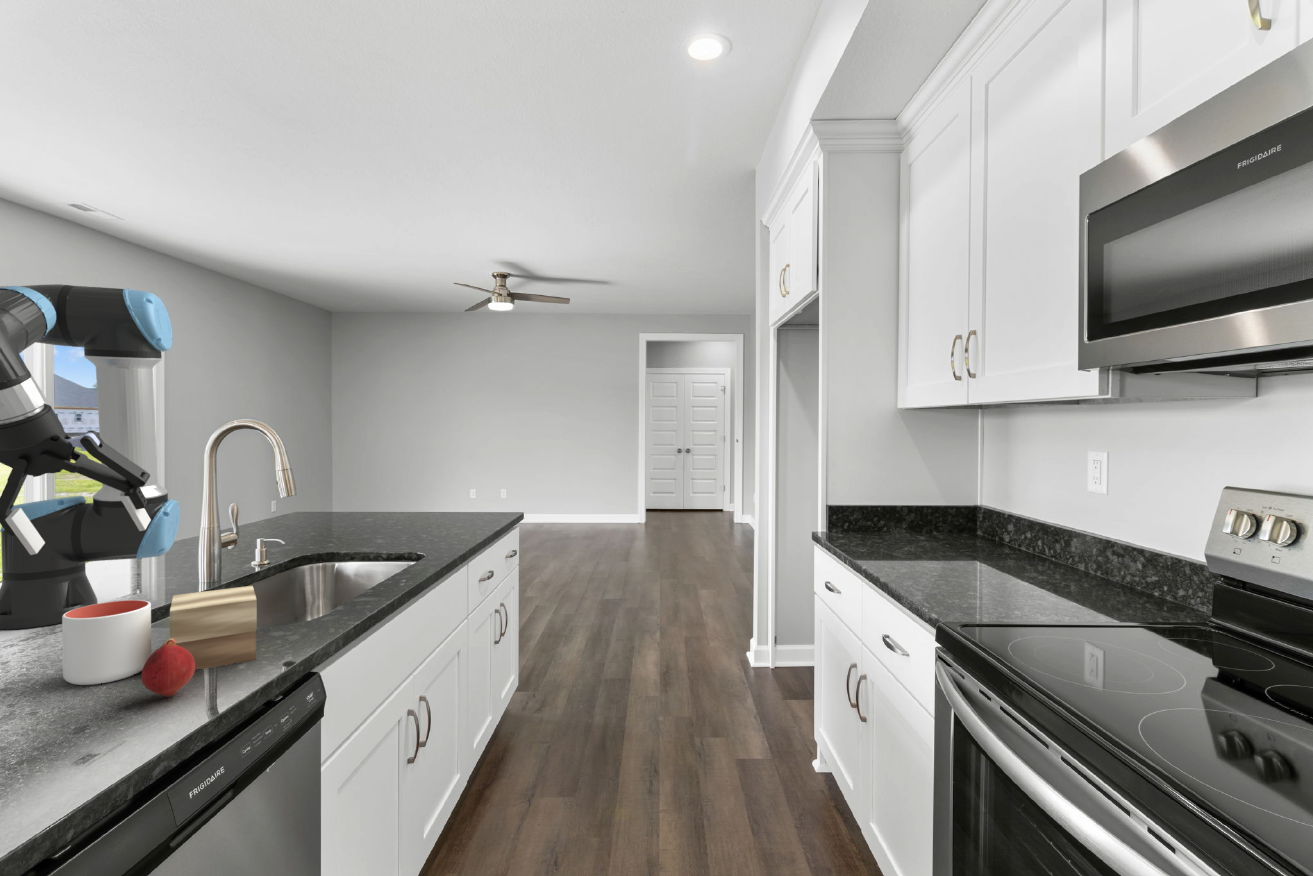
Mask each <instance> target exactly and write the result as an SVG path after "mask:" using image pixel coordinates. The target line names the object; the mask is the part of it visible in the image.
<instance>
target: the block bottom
mask: <svg viewBox="0 0 1313 876" xmlns="http://www.w3.org/2000/svg"><path fill="white" fill-rule="evenodd" d="M256 637H257V632H256V631H251V632H245V633H239V634H232V635H226V636H220V637H213V638H207V639H201V640H194V641H188V642H182V643H176V645H178V646H180V647H183V648H185V649H186V650H188V651H189V652H190V653H191V654H192V656H193V658H194V661H195V670H196V669H202V670H206V669H205V668H208V669H211V668H210V667H213V668H218V667H217V666H219V667H223V666H222V665H225V666H229V665H228V664H230V665H234V664H233V663H236V664H241V663H245V661H247V662H253V661H257V638H256ZM252 660H253V661H252Z"/></svg>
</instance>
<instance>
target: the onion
mask: <svg viewBox="0 0 1313 876" xmlns="http://www.w3.org/2000/svg"><path fill="white" fill-rule="evenodd" d="M175 642H176V640H175V639H174V638H173V639H170V638H169V639H167V640H166V641H165V642H164V643H163V644H162V645H161V646H160V647H159V648H157V649H156V650H154V651H153V652H152V653H151V656H150V657H149V658H148V659H147V661H146V663H145V665H144V667H143V670H142V671H141V676H140V677H141V682H142V685H143V686H144V688H146V689H147V690H149V692H150V691H151V692H152V693H154V694H157V695H160V696H163V697H165V698H170V697H173V696H175V695H176V694H177V693H178V692H179V691H181V689H182V688H183V687H185V686H186V685H187V684H188V683H189V681H190V680H192V678H193V676H194V674H195V672H196V671H195V661H194V658H193V656H192V654H191V653H190V652H189V651H188V650H186V649H185V648H183V647H180V646H178V645H176V643H175Z"/></svg>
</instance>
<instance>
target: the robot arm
mask: <svg viewBox="0 0 1313 876" xmlns="http://www.w3.org/2000/svg"><path fill="white" fill-rule="evenodd" d="M173 338H174V335H173V329H172V323H171V319H170V316H169V313H168V310H167V309H166V306H165V304H164V302H163V301H162V299H161V298H160V297H159V296H157V295H156V294H154V293H152V292H149V291H144V290H138V289H130V288H116V287H113V288H112V287H111V288H110V287H99V286H98V287H97V286H83V285H70V284H58V283H57V284H35V285H32V284H31V285H10V286H9V285H1V286H0V463H1V464H2V465H4V466H7V467H9V468H11V471H10V473H9V475H8V478H7V480H6V481H7V482H6V483H5V486H4V488H3V490H2V492H1V495H0V526H1V528H0V534H1V536H0V537H1V538H0V541H1V570H2V571H1V573H2V575H1V579H2V581H1V586H0V630H17V629H29V628H39V627H44V626H45V627H46V626H51V625H58V624H62V616H63V615H64V614H65V613H67V612H69V611H71V610H74V609H77V608H81V607H84V606H89V605H94V604H98V597H97V595H96V593H95V591H94V589H93V587H92V585H91V582H90V580H89V578H88V576H87V573H86V571H87V570H86V563H87V562H100V561H101V562H102V561H103V562H104V561H114V560H115V561H116V560H117V561H119V560H135V559H136V560H142V559H147V558H156V557H158V558H159V557H161V556H164V555H165V554H166V553H167V552H169V551H170V550H171V548H172V546H173V544H174V542H175V540H176V537H177V534H178V530H179V525H180V519H181V518H180V517H181V510H180V509H181V508H180V503H179V502H178V500H175V499H169V496H168V495H169V493H168V490H167V489H166V488H165V487H164V486H162V485H160V483H159V482H158V481H159V480H158V462H157V459H158V457H157V439H156V419H155V418H156V417H155V416H156V415H155V414H156V413H155V394H154V372H153V371H154V370H153V369H154V367H155V366H156V365H157V364H159V363H160V362H161V361H162V359H163V358H162V357H163V356H162V353H163V352H166V351H170V350H171V348H172V346H173V341H172V340H173ZM35 343H38V344H45V345H52V346H61V347H62V346H63V347H73V348H83V349H84V350H83V352H84V358H85V359H87V360H88V361H89V362H90V363H91V364H93V365H94V367H95V374H96V375H95V376H96V392H97V395H96V396H97V413H98V428H99V429H98V430H99V434H98V432H97V431H96V430H93V429H90V430H87V431H86V433H85V434H82V435H79V436H78V435H77V436H75V437H71V436H70V435H69V434H67V433H66V432H65V429H64V425H63V424H62V421H60V419H59V418H58V415H57V414H56V412H55V411H54V409H53V408H52V405H49V404H47V397H46V395H45V394H44V392H43V391H42V389H41V388H40V386H39V384H38V382H37V381H36V379H35V378H34V376H33V375H32V373H31V371H30V370H29V368H28V366H27V365H26V363H25V361H24V359H23V358H22V357H21V353H22V352H23V351H25V350H26V349H28V348H29V347H31V346H32V345H33V344H35ZM76 448H80V450H81V451H82V452H87V453H88V454H89V455H90V456H91V457H93V458H94V459H96V460H97V461H95V460H93V459H91V458H89V457H88V455H86V454H85V453H82V452H80V451H77V450H76ZM72 460H73V461H75V462H71V461H72ZM98 461H99V462H98ZM62 471H66V472H68V473H71V474H75V473H76V474H79V475H81V476H84V477H86V478H89V479H91V480H92V481H96V482H99V483H101V484H102V487H101V488H100V489H99V490H98V491H97V492H95V493H94V494H93V495H92V502H89V503H88V502H87V499H86V498H85V496H83V495H78V496H77V495H76V496H75V495H74V496H66V497H59V498H51V499H45V500H38V501H32V502H24V503H19V504H15V502H16V500H17V499H18V496H19V494H20V492H21V490H22V488H23V486H24V484H25V481H26V479H27V477H28V476H31V477H33V478H35V477H40V476H44V475H45V474H58V473H61V472H62Z"/></svg>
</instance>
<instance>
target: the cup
mask: <svg viewBox="0 0 1313 876" xmlns="http://www.w3.org/2000/svg"><path fill="white" fill-rule="evenodd" d="M151 607H152V603H151V601H147V600H144V599H143V600H142V599H129V600H128V599H125V600H116V601H107V602H106V601H105V602H100V603H97V604H94V605H89V606H84V607H81V608H77V609H74V610H71V611H69V612H67V613H65V614H64V615H63V616H62V623H61V624H62V627H61V628H62V629H61V630H62V631H61V633H62V636H61V637H62V677H63V679H64V680H65V682H67V683H69V684H71V685H78V686H92V685H101V683H102V684H107V683H111V682H116V681H120V680H123V679H126V678H130V677H132V676H134V674H135V675H137V674H139V673H142V670H143V667H144V665H145V663H146V661H147V659H148V658H149V657H150V656H151V655H152V608H151Z"/></svg>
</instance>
